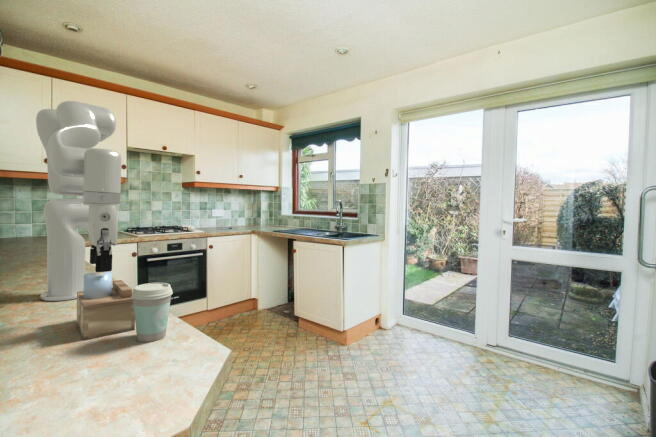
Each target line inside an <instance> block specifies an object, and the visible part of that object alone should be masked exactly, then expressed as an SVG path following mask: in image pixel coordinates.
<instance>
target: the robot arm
mask: <svg viewBox="0 0 656 437" xmlns="http://www.w3.org/2000/svg"><path fill="white" fill-rule="evenodd" d="M35 124H36V131H37V135H38V137H39V139H40V142H41V144H42V146H43V148H44V151H45V154H46V165H47V166H46V167H47V168H46V169H47V182H48V188H49V190H50V192H51V193H53V194H55V195H59V196H67V197H68V196H69V197H70V196H71V197H72V196H73V197H82V198H65V197H64V198H54V199H51V200H48V201H47V202H46V203H45V204H44V206H43V218H44V223H45V228H46V251H47V252H46V253H47V254H46V263H47V264H46V291H45V292H42V293H41V294H40V296H39V297H40V300H42V301H47V302H57V301H58V302H59V301H69V300H77V292H80V291H84V274H86V240H85V239H84V237H83V236H82V235H81V234H80V233H79V232H78V231H77V230H76V229H81V228H82V229H84V228H85V229H86V228H87V229H88V241H89V243H90V250H89V264H91V265H95V271H94V272H111V271H112V270H113V249H112V246H114V247H115V246H117V245H118V213H117V207H121V194H122V193H121V191H122V190H121V188H122V186H121V185H122V155H121V153H120V152H118V151H116V150H113V149H107V148H100V147H99V148H97V147H95V146H97V145H98V144H99V143H101V142H103V141H105V140H106V139H108V138H110V137H112V135H113V134H114V133H115V131H116V127H117V120H116V118H115V115H114V113H113V111H111V110H110V109H109V108H106V107H104V106H99V105H93V104H90V103H85V102H81V101H75V100H66V101H62V102H60V103H59V104H58V105H57V107H56V109H55V108H44V109H41V110H39V111H38V112H37V114H36V118H35Z"/></svg>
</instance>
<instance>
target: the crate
mask: <svg viewBox="0 0 656 437" xmlns="http://www.w3.org/2000/svg"><path fill="white" fill-rule="evenodd" d="M76 324H77V327H78V329H79V332H80V335H81V337H82V340H83V341H87V340H93V339H98V338H102V337H107V336H111V335H112V336H113V335H116V334H120V333H121V334H122V333H126V332H131V331H135V330H136V324H135V315H134V306H133V302H129V303H123V304H116V305H110V306H103V307H97V308H91V309H84V308H83V306H82V304H81V302H80V300H79V298H78V296H77V298H76Z"/></svg>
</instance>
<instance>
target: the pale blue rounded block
mask: <svg viewBox="0 0 656 437" xmlns="http://www.w3.org/2000/svg"><path fill="white" fill-rule="evenodd" d="M112 287H113V272H111V271H108V272H96V271H93V272H88V273H85V274H84V299H101V298H106V297H109V296H111V295H112Z"/></svg>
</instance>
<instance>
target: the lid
mask: <svg viewBox="0 0 656 437" xmlns="http://www.w3.org/2000/svg"><path fill="white" fill-rule="evenodd" d="M132 292H133V289H132V288H131V287H130V286H129V285H128V284H127V283H125V281H123V280H122V279H120V280H118V279H117V280H112V295H111V296H109V297H106V298H101V299H84V291H80V292H77V296H78V298H79V300H80V302H81V304H82V306H83V308H84V309H91V308H97V307H103V306H110V305H116V304H123V303H129V302H133V298H131V296H132Z"/></svg>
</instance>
